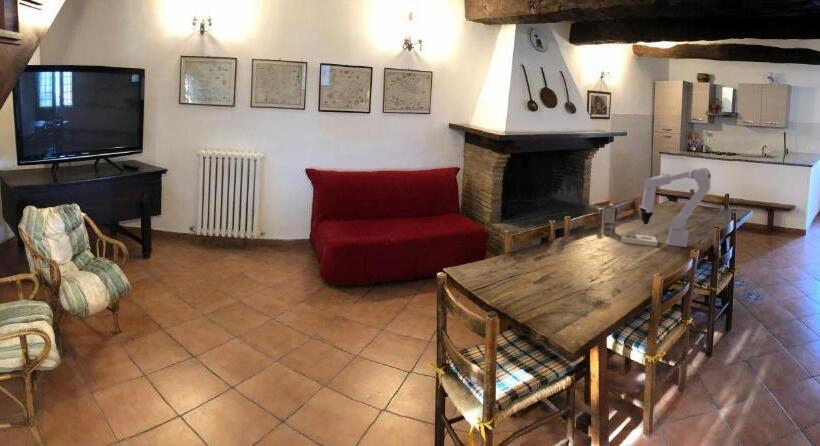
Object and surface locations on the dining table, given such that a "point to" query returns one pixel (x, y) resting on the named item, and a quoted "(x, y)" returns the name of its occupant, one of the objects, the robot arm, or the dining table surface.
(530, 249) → the dining table surface
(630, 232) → the sleeve
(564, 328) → the dining table surface
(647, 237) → the socket block
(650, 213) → the robot arm
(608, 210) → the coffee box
